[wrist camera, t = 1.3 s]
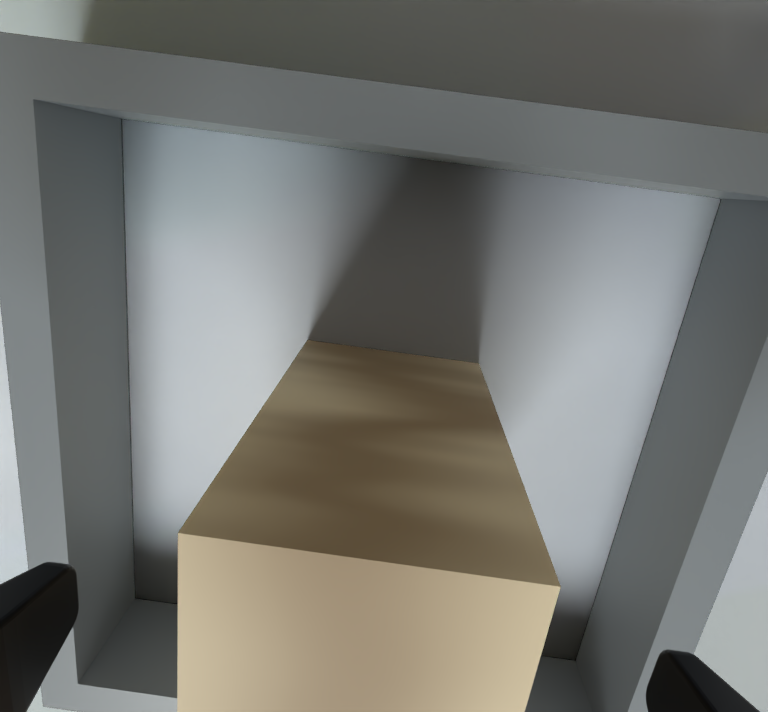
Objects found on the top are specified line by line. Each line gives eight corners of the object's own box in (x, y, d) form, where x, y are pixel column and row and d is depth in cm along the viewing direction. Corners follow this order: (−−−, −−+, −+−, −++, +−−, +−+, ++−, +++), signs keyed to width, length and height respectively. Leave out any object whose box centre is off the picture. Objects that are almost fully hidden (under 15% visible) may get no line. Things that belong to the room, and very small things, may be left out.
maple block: (478, 363, 14) (560, 586, 6) (449, 510, 15) (488, 839, 8) (307, 339, 14) (177, 532, 6) (294, 488, 15) (176, 794, 8)
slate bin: (781, 158, 12) (898, 150, 9) (599, 689, 17) (637, 792, 14) (76, 65, 12) (-29, 27, 9) (104, 619, 17) (43, 706, 14)
